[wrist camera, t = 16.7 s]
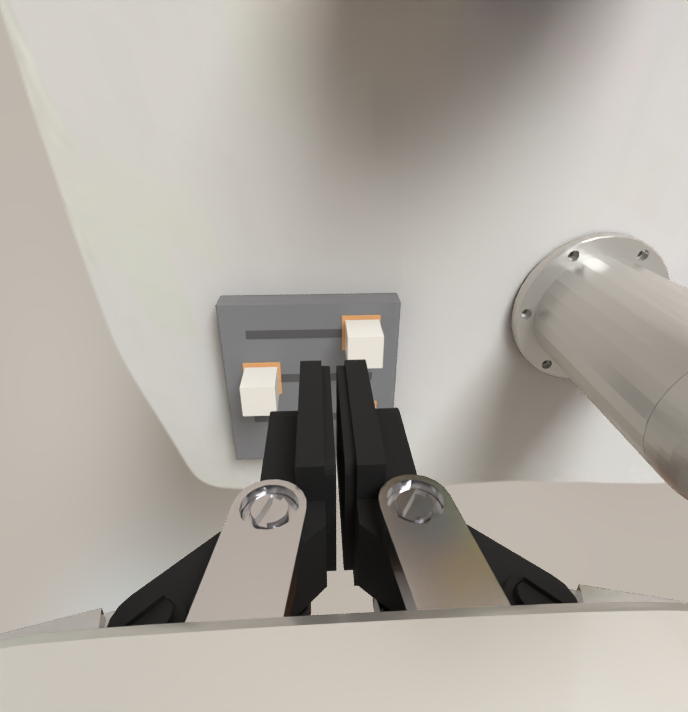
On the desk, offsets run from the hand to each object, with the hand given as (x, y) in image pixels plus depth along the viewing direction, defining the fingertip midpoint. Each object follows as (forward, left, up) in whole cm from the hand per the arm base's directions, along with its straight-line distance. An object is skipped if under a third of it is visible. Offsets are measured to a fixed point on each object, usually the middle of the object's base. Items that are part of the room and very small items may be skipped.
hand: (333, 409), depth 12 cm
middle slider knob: (+5, +13, -23) cm, 27 cm away
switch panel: (+1, +13, -25) cm, 28 cm away
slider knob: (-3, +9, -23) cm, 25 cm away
